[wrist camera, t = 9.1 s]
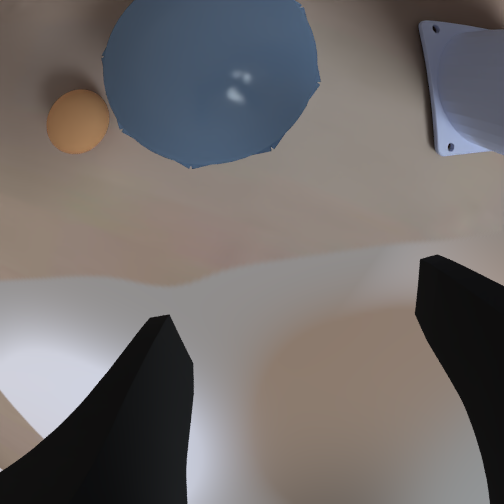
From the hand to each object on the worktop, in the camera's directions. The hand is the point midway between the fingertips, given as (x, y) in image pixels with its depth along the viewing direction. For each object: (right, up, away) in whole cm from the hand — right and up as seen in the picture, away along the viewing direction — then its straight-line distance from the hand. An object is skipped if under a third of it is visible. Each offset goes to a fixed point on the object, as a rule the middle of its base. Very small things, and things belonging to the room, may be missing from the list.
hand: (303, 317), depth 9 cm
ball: (-10, +8, +4) cm, 13 cm away
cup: (-3, +10, +5) cm, 11 cm away
